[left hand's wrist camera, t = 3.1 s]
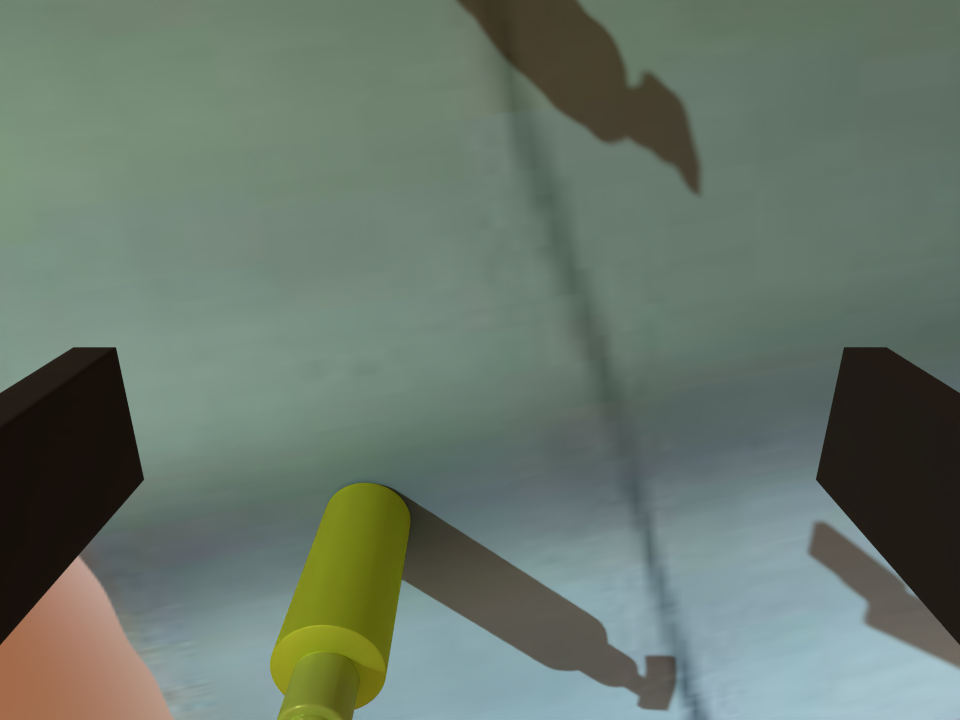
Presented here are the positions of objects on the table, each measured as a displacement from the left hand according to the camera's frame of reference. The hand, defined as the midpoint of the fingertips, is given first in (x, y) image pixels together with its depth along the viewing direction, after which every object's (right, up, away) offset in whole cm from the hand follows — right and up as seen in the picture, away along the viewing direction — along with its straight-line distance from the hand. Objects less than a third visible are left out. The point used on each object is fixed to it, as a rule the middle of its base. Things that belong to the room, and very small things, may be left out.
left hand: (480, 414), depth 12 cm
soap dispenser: (-8, -9, +34) cm, 36 cm away
